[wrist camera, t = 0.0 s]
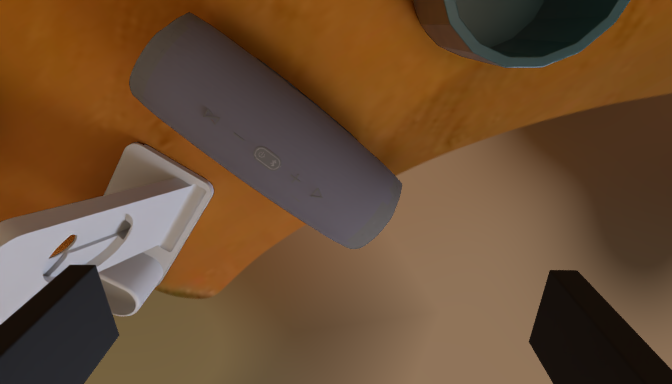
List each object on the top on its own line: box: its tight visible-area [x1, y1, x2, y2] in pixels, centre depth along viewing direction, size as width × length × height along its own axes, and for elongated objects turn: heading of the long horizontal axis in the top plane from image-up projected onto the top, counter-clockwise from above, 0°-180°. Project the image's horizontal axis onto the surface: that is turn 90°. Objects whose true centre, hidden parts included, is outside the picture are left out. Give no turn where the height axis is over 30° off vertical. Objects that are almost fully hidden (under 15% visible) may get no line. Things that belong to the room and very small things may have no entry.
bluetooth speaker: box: [129, 12, 402, 249], centre depth 33 cm, size 23×9×10 cm, turn 51°
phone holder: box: [0, 142, 214, 325], centre depth 34 cm, size 17×10×18 cm, turn 146°
